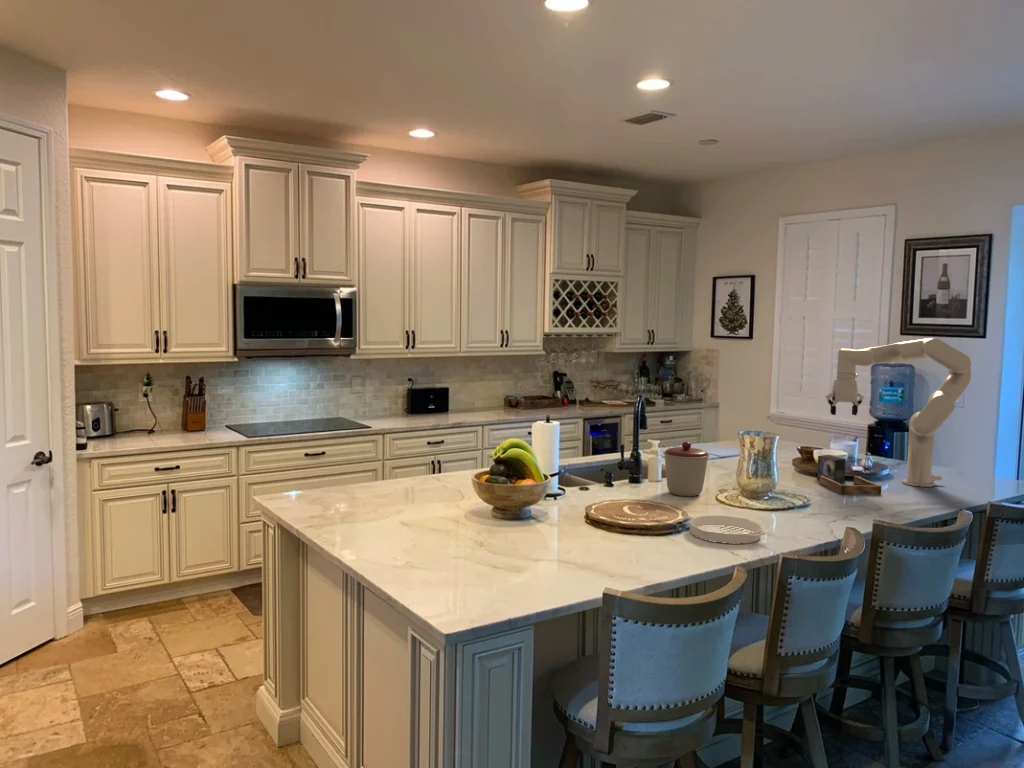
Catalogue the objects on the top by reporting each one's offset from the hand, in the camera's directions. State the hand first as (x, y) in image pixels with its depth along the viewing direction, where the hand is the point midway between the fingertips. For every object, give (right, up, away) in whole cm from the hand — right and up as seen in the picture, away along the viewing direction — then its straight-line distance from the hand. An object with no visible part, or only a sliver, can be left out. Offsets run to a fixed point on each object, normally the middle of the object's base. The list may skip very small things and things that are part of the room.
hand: (843, 414), depth 346 cm
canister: (-79, -30, -36) cm, 92 cm away
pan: (-84, -35, -89) cm, 127 cm away
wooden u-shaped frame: (-7, -30, -22) cm, 38 cm away
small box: (-8, -29, -5) cm, 30 cm away
